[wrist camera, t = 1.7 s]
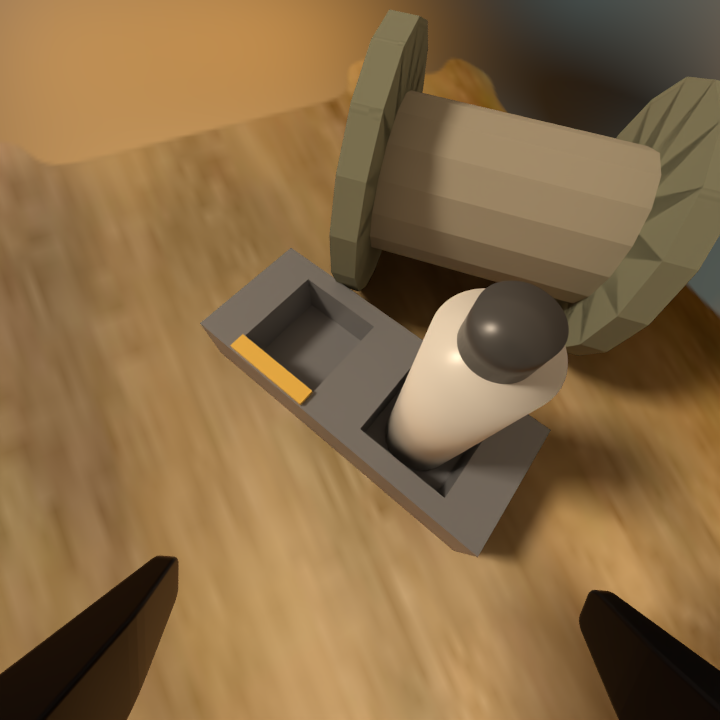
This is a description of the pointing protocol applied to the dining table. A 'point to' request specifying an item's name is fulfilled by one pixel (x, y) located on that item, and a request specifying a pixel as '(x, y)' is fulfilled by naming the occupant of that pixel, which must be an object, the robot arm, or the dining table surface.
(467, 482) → the compartment tray
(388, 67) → the spool
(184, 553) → the dining table surface
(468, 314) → the bottle
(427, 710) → the dining table surface
